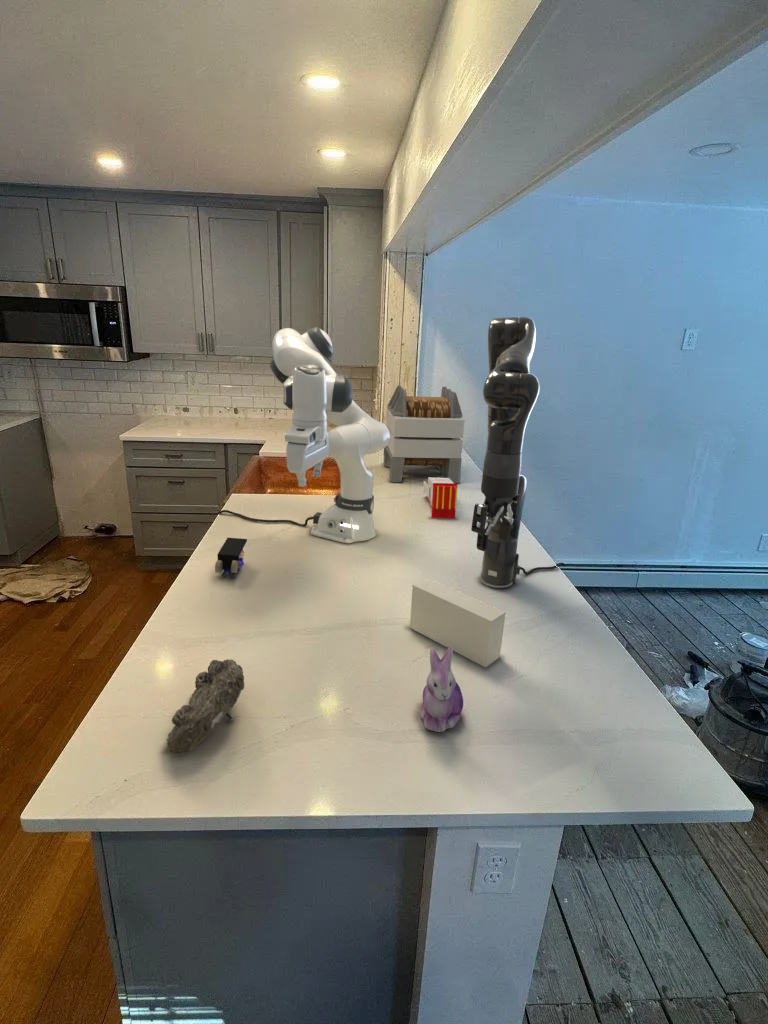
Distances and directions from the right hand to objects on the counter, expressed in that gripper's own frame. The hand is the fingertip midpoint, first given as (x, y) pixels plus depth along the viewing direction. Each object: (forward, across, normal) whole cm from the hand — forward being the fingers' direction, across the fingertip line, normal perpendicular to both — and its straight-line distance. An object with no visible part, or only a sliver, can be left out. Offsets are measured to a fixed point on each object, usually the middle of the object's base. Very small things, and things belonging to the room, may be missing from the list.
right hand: (492, 544), depth 122 cm
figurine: (+28, -23, -7) cm, 37 cm away
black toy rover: (+28, -17, +76) cm, 83 cm away
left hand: (-2, -6, +54) cm, 54 cm away
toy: (+28, +76, +72) cm, 108 cm away
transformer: (+28, +108, +109) cm, 156 cm away
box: (+28, 0, +8) cm, 29 cm away
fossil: (+28, -55, +24) cm, 66 cm away
